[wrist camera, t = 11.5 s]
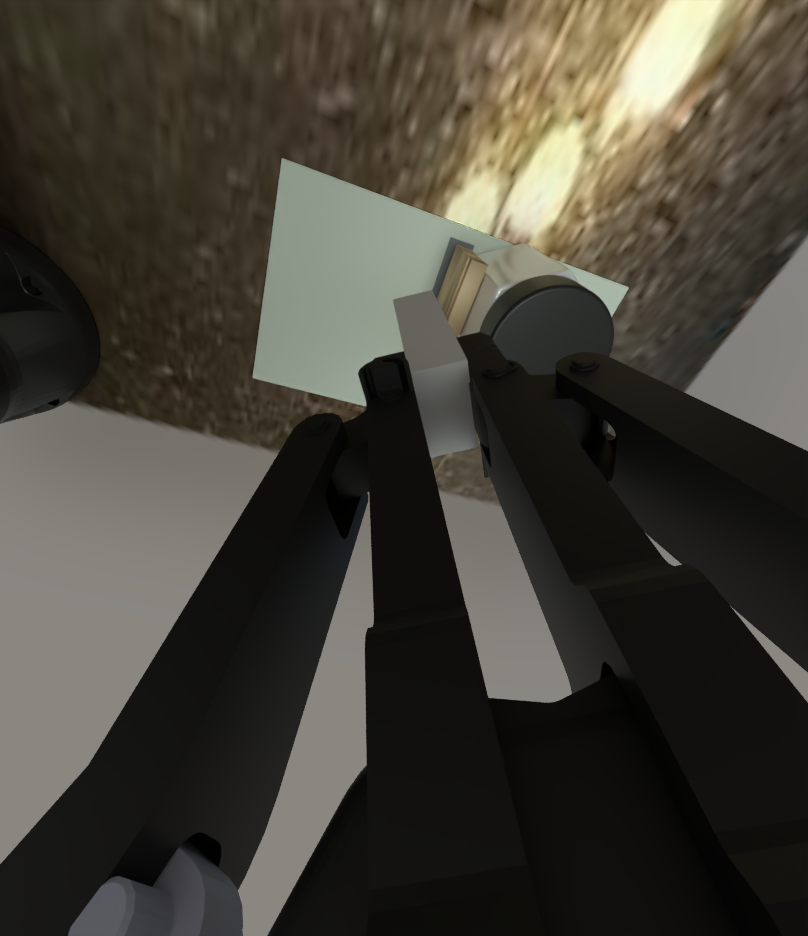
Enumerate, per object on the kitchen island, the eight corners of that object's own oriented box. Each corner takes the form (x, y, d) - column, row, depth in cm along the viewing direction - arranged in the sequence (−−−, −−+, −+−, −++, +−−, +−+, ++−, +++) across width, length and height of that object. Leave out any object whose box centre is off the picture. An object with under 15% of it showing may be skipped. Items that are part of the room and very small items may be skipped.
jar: (454, 356, 39) (485, 425, 30) (439, 261, 35) (471, 306, 25) (552, 333, 39) (616, 395, 29) (552, 233, 34) (628, 267, 24)
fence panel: (423, 375, 40) (431, 406, 35) (408, 371, 40) (414, 401, 35) (472, 250, 34) (489, 266, 29) (455, 243, 34) (469, 259, 29)
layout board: (253, 376, 40) (252, 378, 39) (282, 157, 30) (281, 158, 30) (533, 446, 46) (534, 448, 46) (627, 286, 37) (629, 287, 37)
